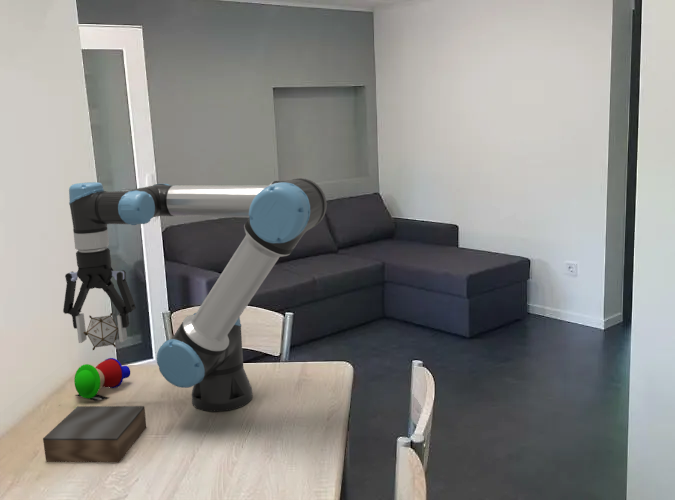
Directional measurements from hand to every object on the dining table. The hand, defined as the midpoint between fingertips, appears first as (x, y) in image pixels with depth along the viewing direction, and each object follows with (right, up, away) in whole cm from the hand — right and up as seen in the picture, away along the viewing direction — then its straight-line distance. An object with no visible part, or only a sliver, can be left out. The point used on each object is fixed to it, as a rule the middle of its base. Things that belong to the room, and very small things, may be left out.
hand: (103, 340), depth 162 cm
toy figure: (-6, -16, +17) cm, 24 cm away
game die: (0, -2, 0) cm, 2 cm away
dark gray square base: (+3, -21, -12) cm, 25 cm away
